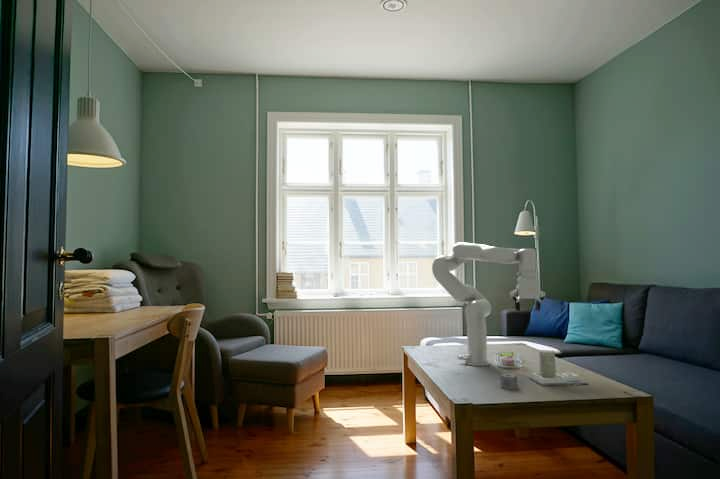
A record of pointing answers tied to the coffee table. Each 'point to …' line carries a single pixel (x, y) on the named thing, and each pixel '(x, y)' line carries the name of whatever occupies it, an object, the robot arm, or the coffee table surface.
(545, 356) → the skincare box
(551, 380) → the socket plate
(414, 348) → the coffee table surface
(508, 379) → the dice cube
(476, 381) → the coffee table surface
